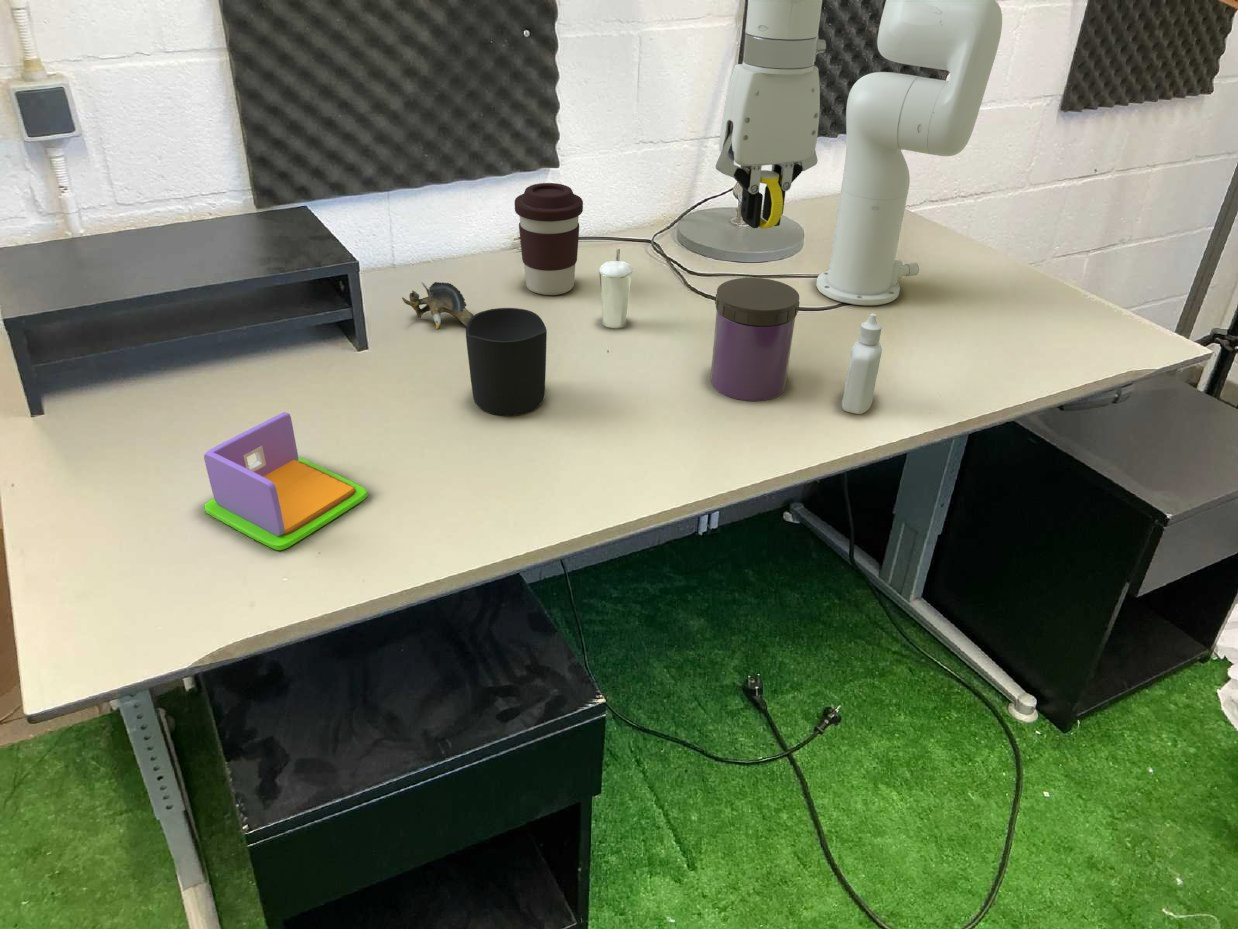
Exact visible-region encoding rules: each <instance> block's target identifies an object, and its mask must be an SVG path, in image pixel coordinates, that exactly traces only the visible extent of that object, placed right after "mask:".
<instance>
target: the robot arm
mask: <svg viewBox="0 0 1238 929" xmlns="http://www.w3.org/2000/svg"><path fill="white" fill-rule="evenodd" d="M822 6H823V0H747V11H746V20H745V21H746V22H745V32H744V41H743V51H742V52H743V53H742V63H739V64H735V65H734V67H733V70H732V74H731V76H730V80H729V84H728V88H727V92H726V97H725V101H724V107H723V112H722V113H723V114H722V119H721V125H720V135H719V146H718V148H719V153H720V155H719V157H718V159H717V161H716V164H715V170H716V171H718V172H719V173H721V174H723V175H725V176H728V177H730V178H733V179H734V180H735V181H736V182H737V183H738V185H739V187H741V188H742V195H741V203H740V204H741V205H740V216H741V219H742V221H743V222H744V223H745V224H746V225H747V226H749V227H750V228H751V229H758V228H760V227H759V226H760V219H761V218H762V219H763V220H765V221H766V222H767V221H768V219H769V217H770V215H771V207H772V201H771V195H770V191H769V188H768V186H767V184H765V185H766V186H765V187H764V196H763V193H762V192H760V185H761V183H760V177H761V170H762V167H763V166H771V171H773V172H776V173H778V174H779V181H778V184H779V186H780V188H781V191H782V197H783V208H782V214H781V217H780V219H779V221H778V223H777V224H776V225H775V226H774V227H779V226H780V225H781V218H782V216H783V214H784V208H785V199H786V192H789V190H790V189H791V187H792V184H793V182H794V181H795V180H796V179H797V178H798V177H799V176H800V175H801V174H802V173H803V172H805V171H807V170H809V169H811V168H813V167H814V166H816V165H817V164H818V156H817V152H816V151H817V150H816V145H817V142H818V134H819V124H820V109H821V108H820V106H821V104H820V103H821V99H820V98H821V88H820V74H819V68H818V66H816V65H815V62H817V55H819V54H823V53H825V52H826V49H827V42H826V40H825V39H819V38H820V36H819V30H820V29H819V28H820V20H821V15H822V14H821V13H822ZM1002 12H1003V11H1002V9H1001V6H1000V4H999V3H998V1H997V0H885V3H884V7H883V11H882V14H881V19H880V23H879V27H878V33H877V41H876V46H877V50H878V53H879V54H880V55H881V56H882V57H883V58H884V59H886V60H888V61H890V62H894V63H897V64H901V65H902V64H903V65H906V66H907V65H908V66H915V67H921V68H928V69H935V70H942V71H943V70H944V71H947V72H948V73H949V80H944V79H937V78H932V77H931V78H930V77H924V76H920V75H913V74H906V73H900V72H891V71H888V72H887V71H877V72H875V71H874V72H870V73H868V74H865V75H863V76H862V77H860V78H859V79H858V80H856V82H855V83H854V84H853V85H852V87H851V89H850V90H849V93H848V97H847V100H846V110H845V121H846V122H845V127H846V132H845V133H846V141H845V142H846V144H845V145H846V146H845V156H844V157H845V158H844V164H843V165H844V166H843V174H842V180H841V187H840V192H839V193H840V194H839V199H838V207H837V213H836V219H835V225H834V233H833V239H832V246H831V252H830V259H829V265H828V270H825V271H823V272H821V273H820V274H819V275H818V276H817V278H816V282H815V285H816V288H817V290H818V291H819V293H821V294H822V295H824V296H825V297H827V298H829V299H831V300H834V301H837V302H840V303H844V304H847V305H848V304H849V305H856V306H880V305H885V304H888V303H889V304H890V303H891V302H893V301H895V300H896V299H898V298H899V296H900V290H901V286H900V284H899V283H898V280H901V279H902V277H912V276H918V275H919V273H920V265H919V263H917V262H909V263H905V264H903V261H902V260H901V259H896V258H897V251H898V246H899V241H900V236H901V231H902V226H903V221H904V216H905V211H906V204H907V200H908V194H909V189H910V182H911V181H910V180H911V177H910V170H909V167H908V164H907V160H906V159H905V156H904V154H903V150H904V151H908V152H909V151H910V152H915V153H920V154H926V155H933V156H937V157H952V156H956V155H958V154H960V153H961V152H962V151H963V150H965V148H966V146H967V145H968V143H969V141H970V139H971V137H972V134H973V131H974V129H975V125H976V122H977V119H978V116H979V112H980V109H981V107H982V103H983V99H984V95H985V94H986V89H987V86H988V83H989V79H990V76H991V72H992V70H993V66H994V63H995V60H996V57H997V53H998V49H999V45H1000V41H1001V35H1002V28H1003V13H1002ZM734 163H736V164H737V165H736V164H734Z"/></svg>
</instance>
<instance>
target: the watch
mask: <svg viewBox="0 0 1238 929" xmlns="http://www.w3.org/2000/svg"><path fill="white" fill-rule="evenodd" d="M778 181H779V174H778V173H776V172H773V171H772V170H766V169H761V177H760V184H765V185H767V186H768V188H769V191H770V195H771V201H772V207H771V215H770V217H769V219H768V221H766V220H765V219H763V217H761V219H760V226H759V227H758V228H760V229H761V230H765V229H771V228H773V227H776V226H775V225H776V224H777V223H778V221H779V219H780V217H781V218H782V216H781V214H782V208H783V197H782V191H781V188H780V186H779V184H778ZM782 215H783V214H782ZM780 220H781V219H780Z"/></svg>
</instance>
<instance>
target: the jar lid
mask: <svg viewBox="0 0 1238 929" xmlns="http://www.w3.org/2000/svg"><path fill="white" fill-rule="evenodd" d="M714 305H715V309H716V310H717V311H718V312H719V313H720V314H721V315H722V316H724V317H725V318H728V319H730V320H732V321H735V322H738V323H743V324H748V325H757V326H771V325H778V324H783V323H786V322H789V321H791V320H792V319H794V318H795V319H796V318H797V316H798V313H799V310H800V294H799V292H798V291H797V289H795V288H794V287H792V286H790V285H789V284H786V283H785V282H783V281H782V282H781V281H779V280H774V279H769V278H765V277H764V278H763V277H740V278H733V279H730V280H727V281H724V282H723V283H720V284H719V285H718V286H717V289H716V294H715V300H714ZM716 310H715V311H716Z"/></svg>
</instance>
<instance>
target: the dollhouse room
mask: <svg viewBox="0 0 1238 929" xmlns="http://www.w3.org/2000/svg"><path fill="white" fill-rule="evenodd" d="M254 454H255V460H256V461H254V462H252V463H250V464H249V461H248V457H250V456H253V455H254ZM203 460H204V464H205V469H206V472H207V476H208V481H209V484H210V488H211V492H212V496H213V498H212V499H210V500H209V501H207V502H206V503H205V504H204V511H205V513H206V514H208V515H209V516H211V517H213V518H214V519H216V520H218V521H219V522H222V523H223V524H225V525H227V526H229V527H231V528H232V529H234V530H236V531H238V532H239V533H242V534H243V535H245V536H247V537H249V538H251V539H253V540H255V541H256V542H258V543H260V544H262V545H264V546H266V547H268V548H270V549H272V550H276V551H283V550H286V549H288V548H290V547H292V546H293V545H295V544H296V543H298V542H300V541H301V540H303V539H305V538H307V537H308V536H310V535H311V534H313V533H314V532H317V531H318V530H319V529H321V528H322V527H324V526H325V525H327V524H329V523H330V522H332V521H333V520H335V519H336V518H338V517H340V516H341V515H343V514H344V513H346V512H347V511H349V510H351V509H353V507H355V506H357V505H358V504H360V503H362V502H363V501H364V500H365V499H366V498H367V497H368V491H367V489H366V488H365V487H363V486H361V485H360V484H358V483H356V482H353V481H351V480H350V479H347V478H345V477H343V476H341V475H339V474H337V473H335V472H333V471H330V470H328V469H326V468H324V467H322V466H320V465H318V464H315V463H313V462H311V461H309V460H306V459H304V458H301V457H299V454H298V447H297V442H296V437H295V431H294V425H293V421H292V417H291V413H289V412H286V411H283V412H281V413H279V414H277V415H274V416H273V417H271V418H269V419H267V420H265V421H263V422H261V423H259V424H257V425H255V426H252V427H251V428H249V429H247V430H245V431H243V432H241V433H239V434H237V435H235V436H233V437H232V438H229V439H227V440H225V441H223V442H221V443H220V444H217V445H216V446H214V447H212V448H210V449H209V450H207V451H205V453H204V454H203Z"/></svg>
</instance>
